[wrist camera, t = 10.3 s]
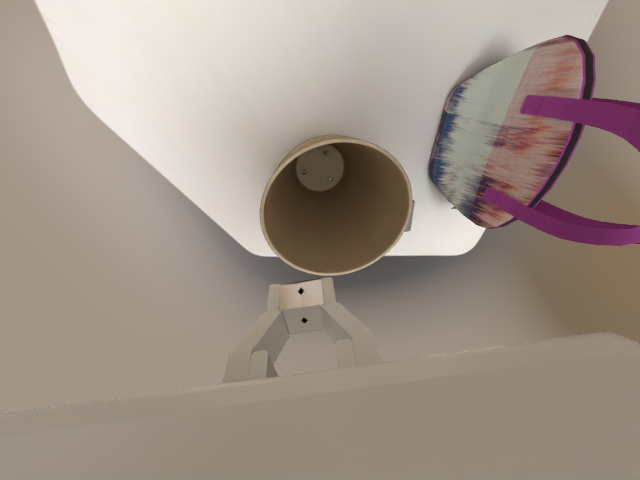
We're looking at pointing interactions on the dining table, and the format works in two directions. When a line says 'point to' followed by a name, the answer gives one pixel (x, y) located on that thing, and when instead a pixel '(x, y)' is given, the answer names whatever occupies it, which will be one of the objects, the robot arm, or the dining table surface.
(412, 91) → the dining table surface
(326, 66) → the dining table surface
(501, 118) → the handbag
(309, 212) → the plant pot
